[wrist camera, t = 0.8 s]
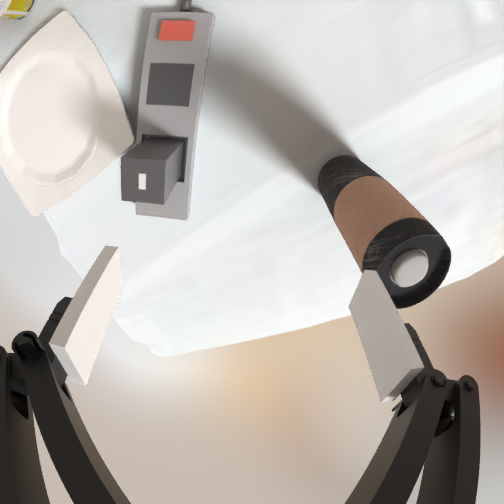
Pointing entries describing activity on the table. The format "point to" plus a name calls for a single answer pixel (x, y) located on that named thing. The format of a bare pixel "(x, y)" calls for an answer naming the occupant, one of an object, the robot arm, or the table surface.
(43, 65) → the plate
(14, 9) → the supplement bottle
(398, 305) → the travel mug
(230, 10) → the table surface
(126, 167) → the block
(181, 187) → the power strip
